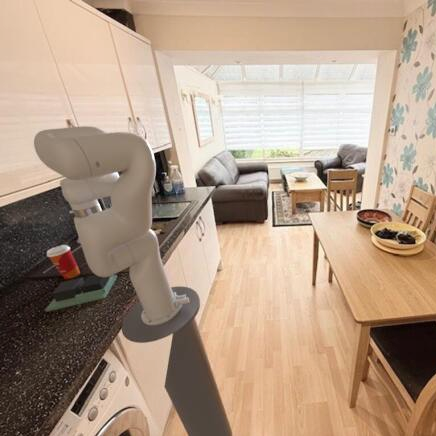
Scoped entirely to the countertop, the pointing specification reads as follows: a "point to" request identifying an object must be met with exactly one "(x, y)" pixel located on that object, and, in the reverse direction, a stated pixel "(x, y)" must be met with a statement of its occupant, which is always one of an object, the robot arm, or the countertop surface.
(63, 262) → the paper cup
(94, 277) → the black pad
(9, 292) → the countertop surface
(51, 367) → the countertop surface
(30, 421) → the countertop surface
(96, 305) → the countertop surface
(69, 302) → the base board
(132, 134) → the robot arm
